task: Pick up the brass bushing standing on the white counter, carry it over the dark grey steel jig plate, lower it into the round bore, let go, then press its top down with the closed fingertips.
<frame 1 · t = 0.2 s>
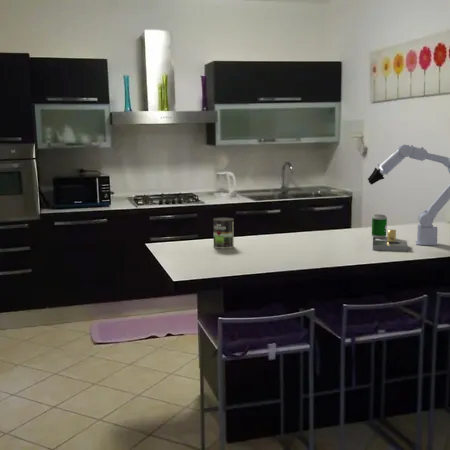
hand: (369, 182, 283), 31 cm above the counter, tool tilted 45°, fingers open, 7 cm apart
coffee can: (223, 247, 281), on the counter
jig: (389, 248, 272), on the counter
bushing: (391, 243, 282), on the counter
soda can: (378, 237, 299), on the counter
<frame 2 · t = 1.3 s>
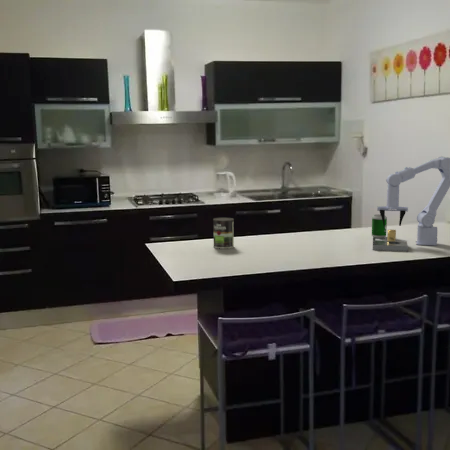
hand: (391, 225, 281), 9 cm above the counter, tool pointing down, fingers open, 7 cm apart
nothing on the counter moved.
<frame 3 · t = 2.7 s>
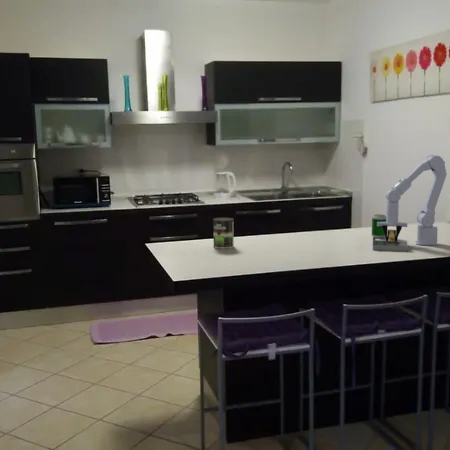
hand: (391, 240, 282), 2 cm above the counter, tool pointing down, fingers closed on bushing, 4 cm apart
bushing: (391, 243, 282), on the counter, touching gripper
everything else where it was.
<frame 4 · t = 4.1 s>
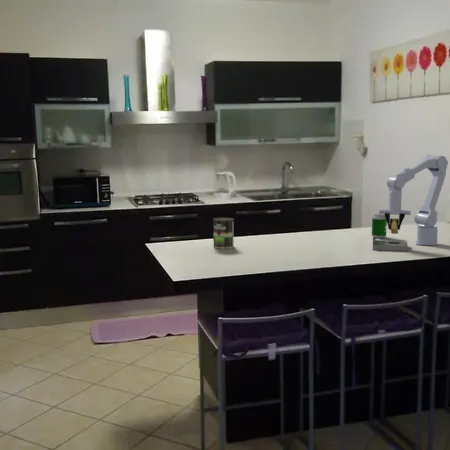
hand: (394, 229, 272), 9 cm above the counter, tool pointing down, fingers closed on bushing, 4 cm apart
bushing: (393, 233, 273), point 7 cm above the counter, touching gripper
everything else where it was.
when the fingers open (3 cm above the counter, at t = 5.7 s): bushing drops 1 cm, resting in jig.
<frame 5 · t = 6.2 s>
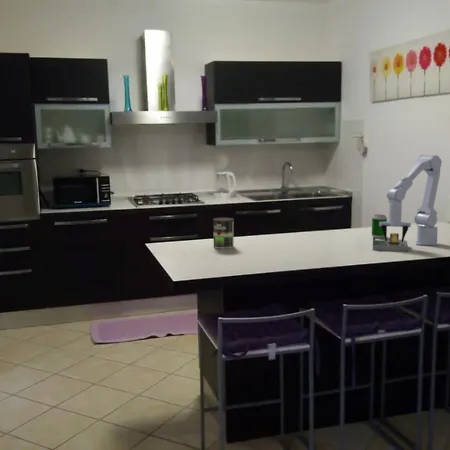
hand: (394, 241, 272), 3 cm above the counter, tool pointing down, fingers open, 7 cm apart
bushing: (393, 247, 273), resting in jig
everything else where it was.
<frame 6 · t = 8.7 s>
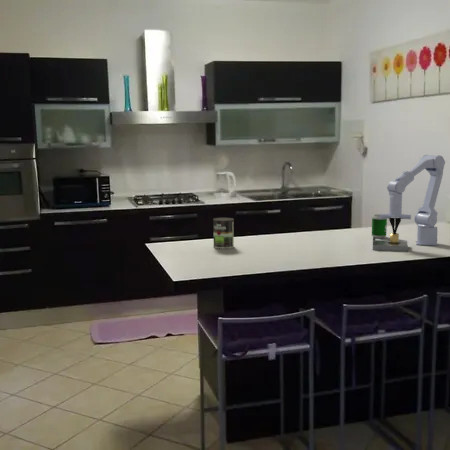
hand: (394, 233, 271), 7 cm above the counter, tool pointing down, fingers closed
nothing on the counter moved.
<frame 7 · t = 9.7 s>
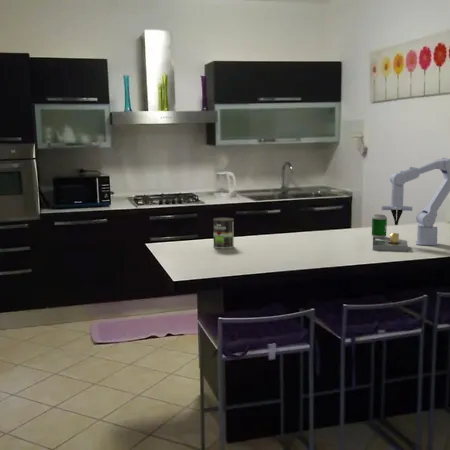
hand: (396, 224, 279), 10 cm above the counter, tool pointing down, fingers closed
nothing on the counter moved.
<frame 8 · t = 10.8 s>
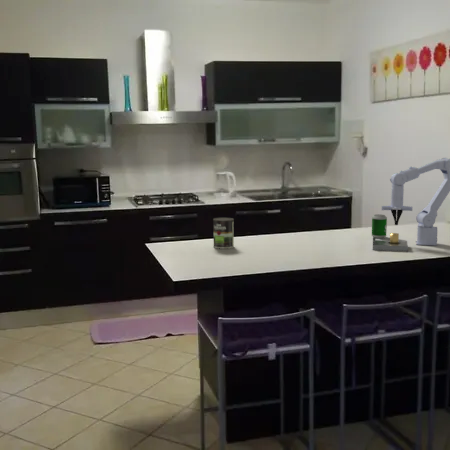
hand: (396, 224, 279), 10 cm above the counter, tool pointing down, fingers closed
nothing on the counter moved.
at the end: bushing 0.1 cm from the target spot on the jig, point 0.0 cm above the jig's base; bushing tilted 1°; the gripper is holding nothing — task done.
